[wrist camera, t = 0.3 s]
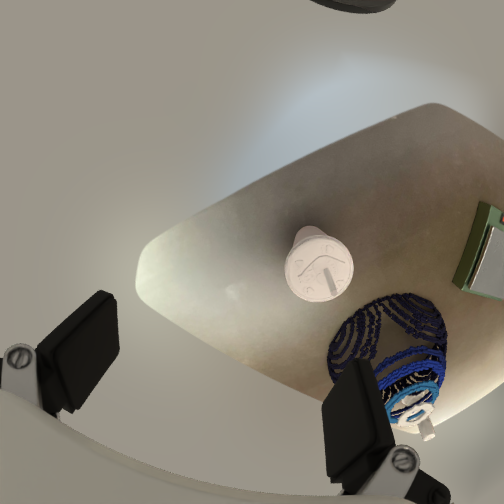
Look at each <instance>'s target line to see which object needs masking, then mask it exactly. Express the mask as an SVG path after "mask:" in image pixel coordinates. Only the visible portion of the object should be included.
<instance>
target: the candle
mask: <svg viewBox="0 0 504 504" xmlns="http://www.w3.org/2000/svg"><path fill="white" fill-rule="evenodd" d="M416 392H417V391H416ZM424 393H425V391H424V392H421V393H420V394H418V395H417V396H415V395H414V396H412V395H411V396H408V395H407V396H405V398H404V399H402V400H401V401H402V403H403V404H406V405H407V406H410V405H411V404H412V403H414V402H415V403H416V402H417V401H418V400H420V399H421V398H422V397H424ZM421 403H422V402H421ZM421 403H420V404H421ZM420 404H417V405H420ZM420 410H421V409H420ZM420 410H419V411H420ZM419 411H415V412H414V413H411V414H410V415H409V416H411V415H414V414H416V413H418V412H419ZM424 413H425V412H424ZM424 413H422V414H420V415H419V416H417V417H415V418H414V419H418V418H419V417H420V416H421V415H423V414H424ZM417 425H418V427H419V430H420V433H421V436H422V438H423V440H424V441H428V440H430V439H432V438H433V437H434V436H435V431H434V428H433V425H432V423H431V421H430V418H429V416H428V417H427V418H426V419H425V420H422V421H421V422H420V423H419V424H417Z"/></svg>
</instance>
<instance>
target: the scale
mask: <svg viewBox="0 0 504 504" xmlns="http://www.w3.org/2000/svg"><path fill="white" fill-rule="evenodd" d="M490 225H492V226H494V227H496V228H498V229H500V230H501V231H503V232H504V213H503V212H502V211H500V210H498V209H497V208H495V207H493V206H492V205H489V204H486V203H483V202H481V201H480V202H479V206H478V210H477V213H476V217H475V220H474V224H473V227H472V230H471V233H470V236H469V239H468V242H467V245H466V248H465V251H464V253H463V256H462V259H461V261H460V264H459V266H458V269H457V271H456V274H455V276H454V278H453V281H452V282H453V283H454V284H455V285H456V286H457V287H458V288H459V289H461V290H462V291H466V292H469V293H473V294H477V295H480V296H484V297H488V298H491V299H495V300H498V301H502V299H501V298H497V297H494V296H490V295H487V294H483V293H480V292H476V291H473V290H470V289H469V288H468V285H469V283H470V280H471V278H472V276H473V273H474V271H475V268H476V266H477V263H478V261H479V258H480V255H481V253H482V250H483V247H484V244H485V241H486V238H487V235H488V232H489V229H490Z"/></svg>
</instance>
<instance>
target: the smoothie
mask: <svg viewBox="0 0 504 504" xmlns="http://www.w3.org/2000/svg"><path fill="white" fill-rule="evenodd" d="M353 270H354V267H353V260H352V257H351V255H350V253H349V251H348V249H347V248H346V247H345V246H344V244H343V243H342V242H340V241H339V240H337V239H335V238H333V237H330V236H328V235H326V234H325V233H324V232H323V231H321V230H320V229H319V228H317V227H315V226H305V227H303V228H301V229H300V230H299V231H298V232H297V234H296V236H295V240H294V244H293V248H292V249H291V251H290V252H289V254H288V255H287V258H286V262H285V276H286V280H287V283H288V285H289V287H290V289H291V290H292V291H293V292H294V293H295V294H296V295H297V296H298V297H300V298H302V299H304V300H307V301H310V302H325V301H328V300H331V299H334V298H335V297H337V296H339V295H340V294H341V293H342V292H343V291H344V290H345V289H346V288H347V287H348V285H349V284H350V282H351V279H352V276H353Z"/></svg>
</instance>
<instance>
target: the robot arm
mask: <svg viewBox="0 0 504 504" xmlns="http://www.w3.org/2000/svg"><path fill="white" fill-rule="evenodd" d="M119 350H120V346H119V335H118V318H117V301H116V299H114V296H113V294H111V293H108V292H105V291H103V290H99V291H97V292H96V293H95V294H94V295H93V296H92V297H90V298H89V299H88V300H87V301H86V302H84V304H82V305H81V306H80V307H79V308H78V309H76V310H75V311H74V312H73V313H72V314H71V315H70V316H69V317H68V318H66V319H65V320H64V321H63V322H62V323H61V324H60V325H59V326H57V327H56V328H55V329H54V330H53V331H52V332H51V333H50V334H49V335H48V336H47V337H46V338H45V339H44V340H43V341H42V342H41V343H39V344H38V345H37V348H36V349H35V350H34V349H33V348H32V347H31V346H29V345H27V344H21V343H20V344H15V345H12V346H11V347H9V348H8V349H7V350H6V352H5V353H4V357H3V358H0V504H450V500H451V495H450V491H449V489H448V488H447V487H446V486H445V485H444V484H442V483H440V482H439V481H437V480H436V479H434V478H433V477H431V476H429V475H428V474H426V473H425V472H423V471H422V470H420V469H419V466H420V458H419V456H418V454H417V452H416V451H415V450H414V449H413V448H411V447H409V446H407V445H397V446H396V444H395V440H394V436H393V432H392V429H391V425H390V422H389V418H388V415H387V412H386V408H385V405H384V402H383V399H382V396H381V393H380V390H379V386H378V383H377V380H376V377H375V375H374V372H373V369H372V366H371V363H370V361H369V360H368V359H361V358H354V359H353V361H349V362H348V364H347V365H346V367H345V369H344V370H343V372H342V374H341V375H340V377H339V378H338V380H337V382H336V383H335V385H334V386H333V388H332V390H331V391H330V393H329V394H328V396H327V397H326V399H325V400H324V402H323V404H322V420H323V431H324V442H325V455H326V471H327V476H328V477H330V479H331V483H342V488H343V489H342V490H341V491H340V493H339V494H338V495H337V496H301V495H284V494H273V493H263V492H255V491H248V490H242V489H236V488H231V487H225V486H220V485H216V484H211V483H207V482H202V481H198V480H195V479H191V478H188V477H184V476H181V475H177V474H174V473H171V472H168V471H165V470H162V469H159V468H156V467H153V466H151V465H148V464H145V463H143V462H140V461H138V460H135V459H133V458H130V457H128V456H126V455H123V454H121V453H119V452H117V451H114V450H112V449H110V448H108V447H106V446H104V445H102V444H100V443H98V442H96V441H94V440H92V439H90V438H88V437H87V436H85V435H83V434H81V433H79V432H78V431H76V430H74V429H72V428H71V427H69V426H67V425H66V424H64V423H62V422H61V421H60V416H59V412H60V411H61V409H62V408H63V409H64V410H66V411H68V412H69V413H71V414H73V412H74V411H75V409H77V410H79V409H80V408H81V406H82V405H83V404H84V402H85V401H86V399H87V398H88V396H89V395H90V393H91V392H92V391H93V389H94V388H95V386H96V385H97V384H98V382H99V381H100V379H101V378H102V376H103V375H104V373H105V372H106V371H107V369H108V368H109V367H110V365H111V364H112V363H113V361H114V360H115V359H116V357H117V356H118V354H119ZM452 504H454V503H452Z"/></svg>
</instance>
